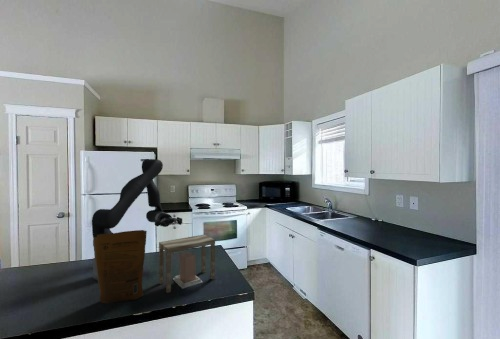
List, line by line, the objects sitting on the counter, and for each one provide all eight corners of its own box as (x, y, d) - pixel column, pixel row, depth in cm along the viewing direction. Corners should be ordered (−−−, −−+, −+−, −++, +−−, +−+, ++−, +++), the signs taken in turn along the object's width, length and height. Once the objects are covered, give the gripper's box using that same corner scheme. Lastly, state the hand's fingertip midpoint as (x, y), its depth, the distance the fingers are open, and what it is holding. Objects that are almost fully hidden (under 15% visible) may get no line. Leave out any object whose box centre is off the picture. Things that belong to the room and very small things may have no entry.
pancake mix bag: (145, 300, 100) (145, 231, 100) (91, 307, 95) (92, 234, 95) (147, 292, 106) (147, 227, 106) (97, 298, 101) (97, 230, 101)
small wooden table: (159, 283, 115) (159, 242, 115) (203, 270, 129) (203, 234, 129) (167, 293, 106) (167, 248, 106) (215, 279, 119) (215, 239, 120)
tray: (172, 279, 119) (172, 276, 119) (192, 274, 125) (192, 271, 125) (182, 288, 110) (182, 285, 110) (202, 282, 116) (202, 279, 116)
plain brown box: (179, 278, 119) (179, 253, 119) (189, 276, 122) (189, 251, 122) (185, 284, 113) (185, 257, 113) (195, 281, 116) (195, 255, 116)
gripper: (150, 214, 141) (159, 218, 128) (175, 211, 150) (185, 215, 137) (150, 227, 141) (159, 232, 128) (175, 223, 149) (185, 228, 136)
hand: (173, 223), depth 132 cm, fingers open, 8 cm apart
